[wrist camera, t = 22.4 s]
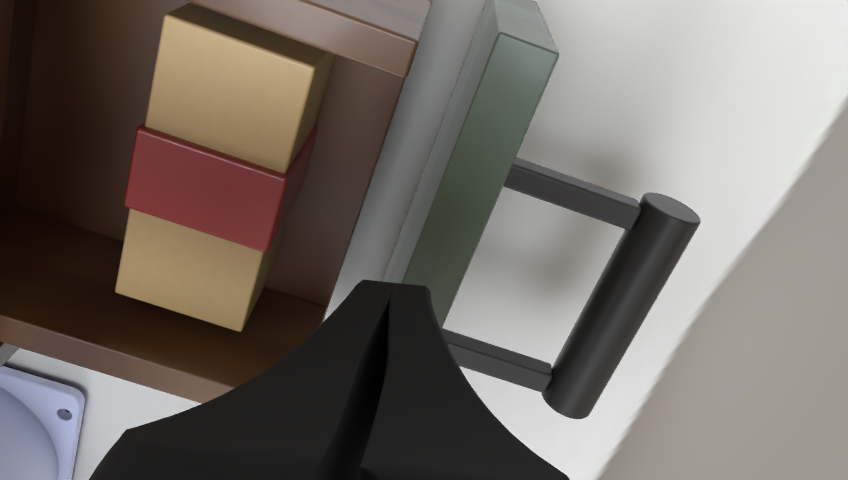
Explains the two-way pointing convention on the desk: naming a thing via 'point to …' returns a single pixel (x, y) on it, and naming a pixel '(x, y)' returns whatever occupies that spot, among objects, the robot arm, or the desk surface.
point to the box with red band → (218, 164)
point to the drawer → (315, 204)
